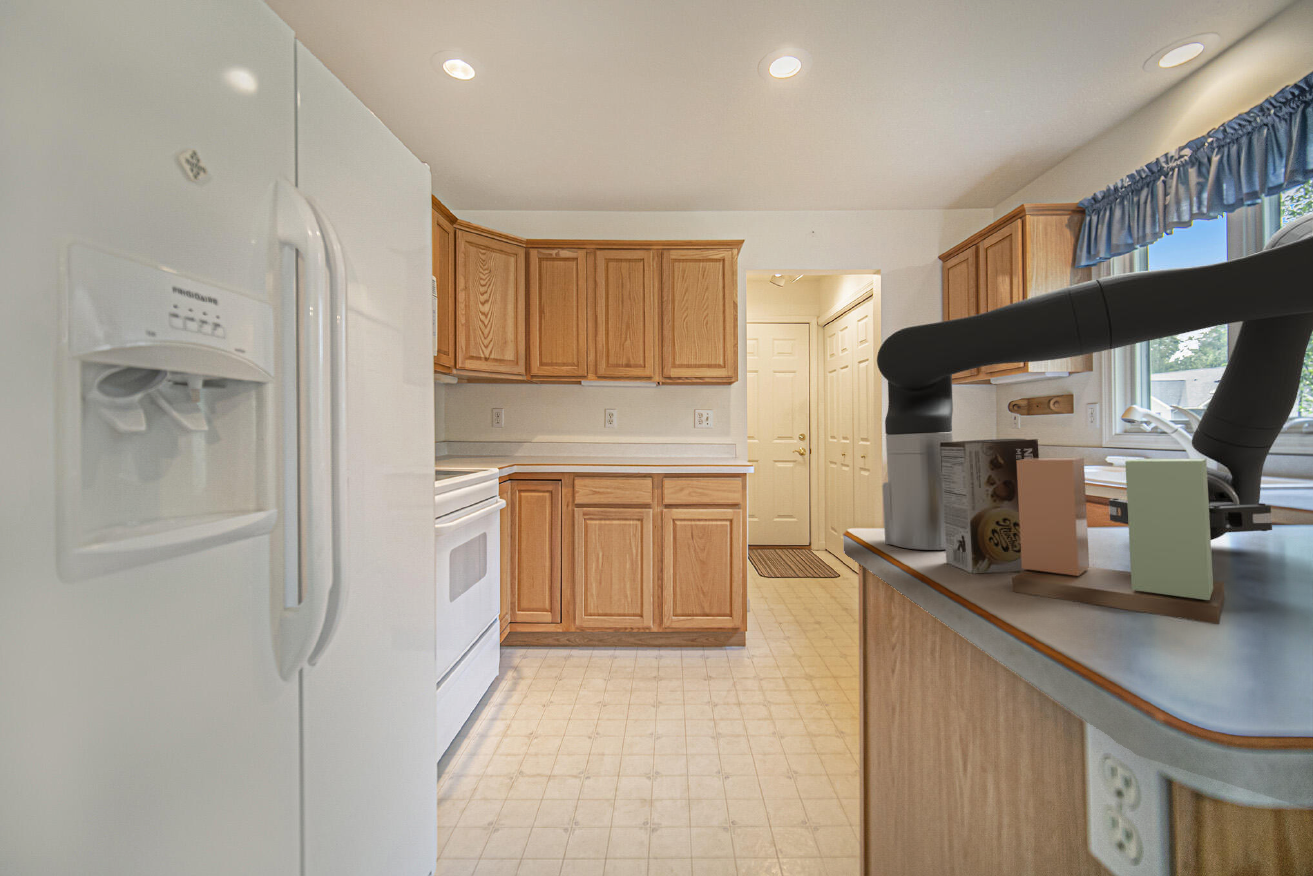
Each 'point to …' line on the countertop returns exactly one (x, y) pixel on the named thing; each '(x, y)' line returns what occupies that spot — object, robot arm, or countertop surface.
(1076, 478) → the peach rectangular block
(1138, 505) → the pale green block
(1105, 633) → the countertop surface
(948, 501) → the coffee box
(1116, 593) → the brown wooden board
